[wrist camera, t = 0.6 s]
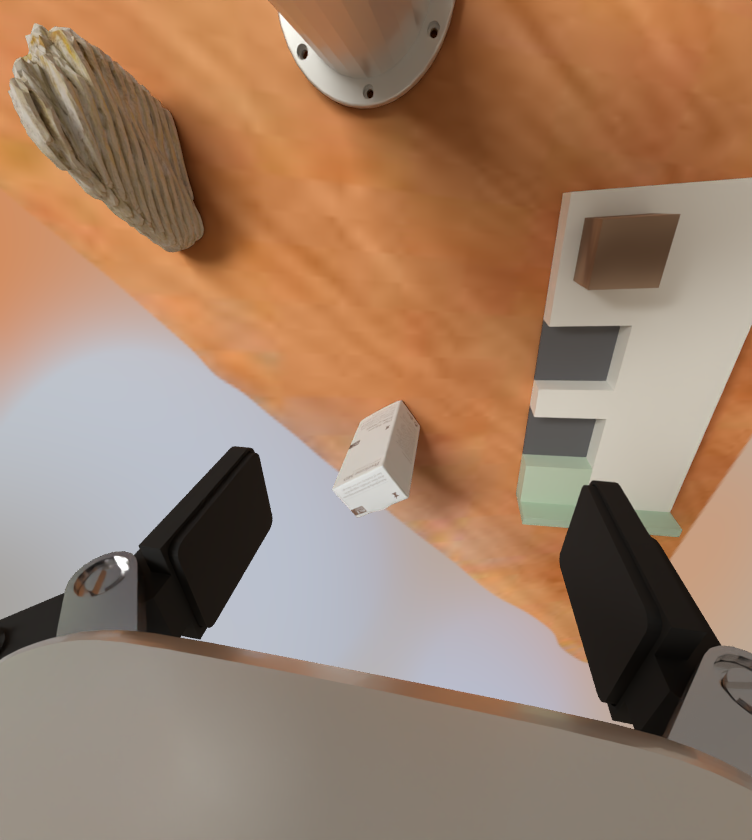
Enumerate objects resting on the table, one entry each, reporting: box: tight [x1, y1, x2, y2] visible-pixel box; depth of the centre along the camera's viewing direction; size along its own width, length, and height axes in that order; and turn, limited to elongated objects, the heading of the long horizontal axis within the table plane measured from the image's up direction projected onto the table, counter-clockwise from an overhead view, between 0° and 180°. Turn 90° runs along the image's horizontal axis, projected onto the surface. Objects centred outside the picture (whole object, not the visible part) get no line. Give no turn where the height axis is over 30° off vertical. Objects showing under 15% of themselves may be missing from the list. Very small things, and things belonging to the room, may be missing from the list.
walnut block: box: [573, 213, 681, 290], centre depth 27 cm, size 4×4×4 cm
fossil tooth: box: [8, 23, 204, 252], centre depth 29 cm, size 12×6×15 cm
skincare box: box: [332, 401, 420, 518], centre depth 38 cm, size 6×4×12 cm
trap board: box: [516, 178, 752, 537], centre depth 33 cm, size 31×15×5 cm, turn 4°
